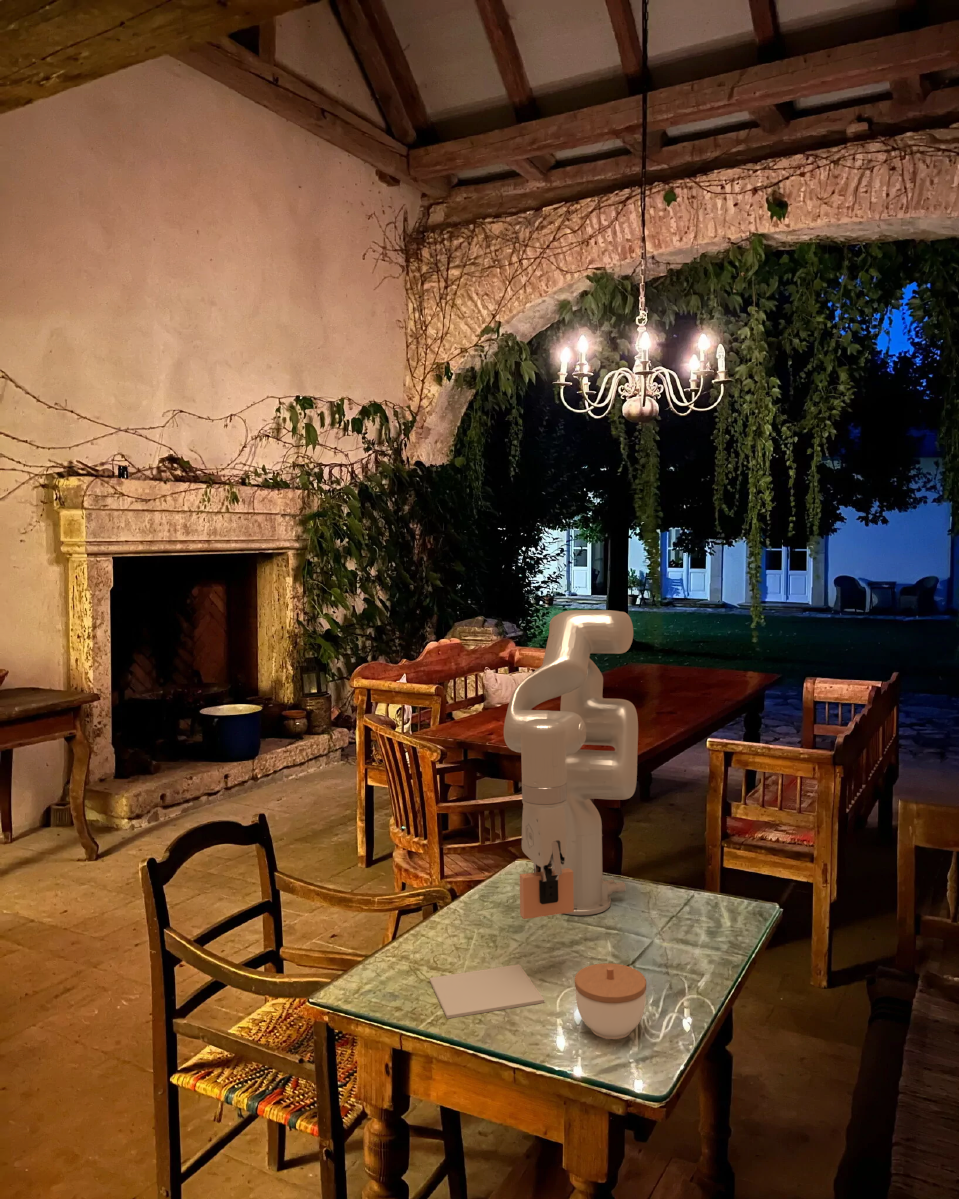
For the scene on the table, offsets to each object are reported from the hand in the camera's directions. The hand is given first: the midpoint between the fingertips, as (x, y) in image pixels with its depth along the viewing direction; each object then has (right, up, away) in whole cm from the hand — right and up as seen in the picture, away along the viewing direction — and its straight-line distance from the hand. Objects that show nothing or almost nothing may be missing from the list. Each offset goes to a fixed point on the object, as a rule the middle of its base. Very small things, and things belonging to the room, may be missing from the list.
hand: (546, 899), depth 155 cm
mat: (-10, -14, -4) cm, 18 cm away
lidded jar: (+9, -14, -17) cm, 24 cm away
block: (0, -2, 0) cm, 2 cm away
